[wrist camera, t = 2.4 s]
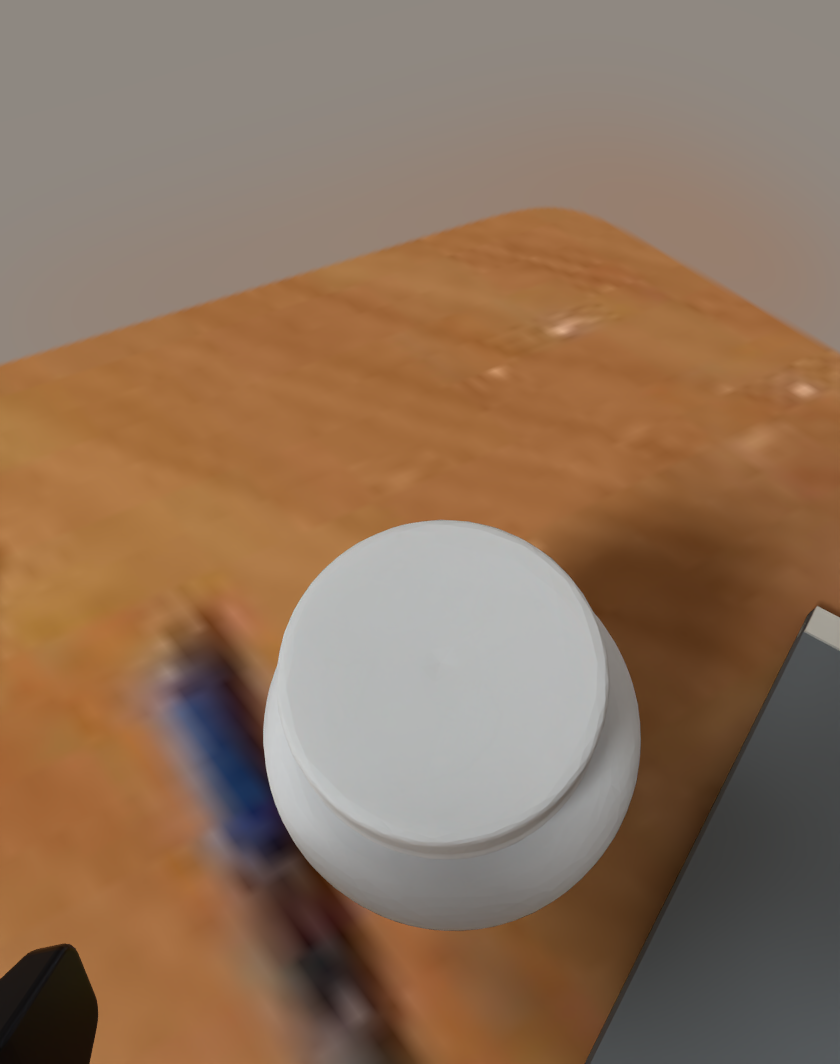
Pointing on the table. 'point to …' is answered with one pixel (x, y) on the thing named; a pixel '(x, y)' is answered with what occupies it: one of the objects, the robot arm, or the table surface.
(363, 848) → the supplement bottle
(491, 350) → the table surface
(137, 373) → the table surface
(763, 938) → the mat
